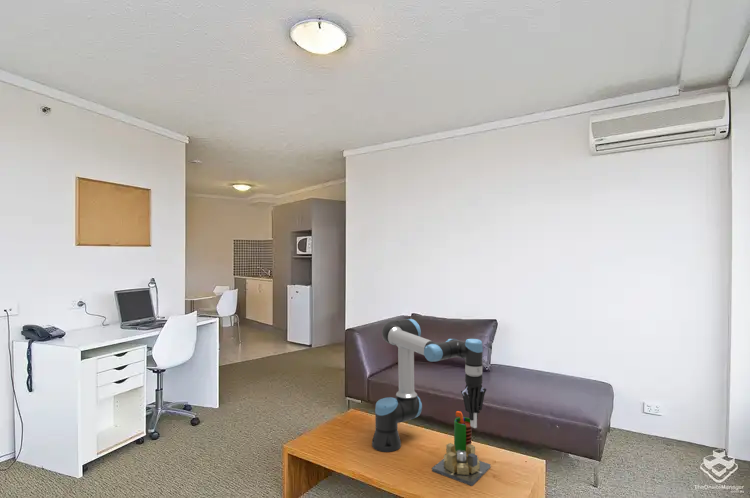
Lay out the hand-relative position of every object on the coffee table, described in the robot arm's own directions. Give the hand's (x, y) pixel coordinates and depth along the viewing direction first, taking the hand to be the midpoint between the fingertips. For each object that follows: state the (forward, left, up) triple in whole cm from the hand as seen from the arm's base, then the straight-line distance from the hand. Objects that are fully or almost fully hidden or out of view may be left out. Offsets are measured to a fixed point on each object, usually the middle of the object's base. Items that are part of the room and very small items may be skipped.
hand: (473, 426), depth 185 cm
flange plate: (-8, +3, -23) cm, 24 cm away
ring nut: (-8, +3, -21) cm, 23 cm away
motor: (-15, +19, -23) cm, 33 cm away
